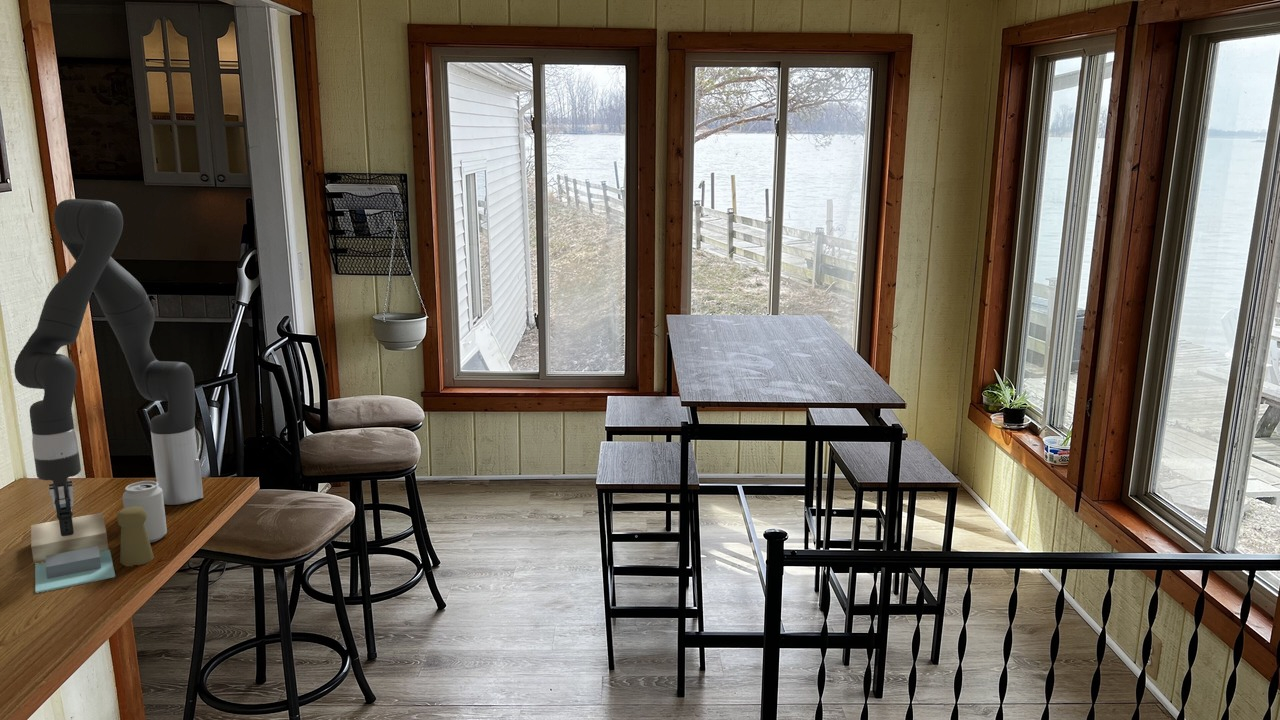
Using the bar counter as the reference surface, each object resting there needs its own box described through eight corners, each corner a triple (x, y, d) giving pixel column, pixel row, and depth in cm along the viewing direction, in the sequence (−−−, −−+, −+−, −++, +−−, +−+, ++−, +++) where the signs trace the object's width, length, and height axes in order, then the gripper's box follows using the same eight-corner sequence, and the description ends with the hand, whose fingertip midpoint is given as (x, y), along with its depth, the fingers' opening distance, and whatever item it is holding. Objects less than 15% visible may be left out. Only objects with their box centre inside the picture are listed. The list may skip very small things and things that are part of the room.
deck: (104, 529, 202) (102, 512, 201) (108, 550, 192) (106, 532, 191) (33, 542, 195) (31, 525, 195) (34, 565, 185) (31, 546, 184)
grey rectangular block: (99, 556, 182) (101, 568, 183) (98, 546, 187) (99, 557, 188) (45, 567, 178) (47, 578, 178) (45, 556, 183) (47, 567, 183)
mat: (110, 551, 191) (109, 549, 191) (115, 576, 180) (115, 575, 180) (35, 566, 184) (35, 564, 184) (35, 593, 173) (35, 591, 173)
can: (175, 533, 200) (169, 481, 198) (147, 547, 193) (140, 493, 191) (148, 529, 203) (142, 477, 200) (119, 542, 196) (112, 488, 193)
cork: (139, 567, 184) (133, 515, 182) (112, 564, 185) (106, 513, 183) (160, 555, 190) (154, 504, 187) (134, 552, 191) (128, 502, 189)
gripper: (79, 458, 180) (90, 541, 184) (77, 440, 191) (87, 520, 195) (33, 464, 176) (45, 550, 180) (33, 446, 187) (45, 527, 191)
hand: (67, 534), depth 187 cm, fingers closed
